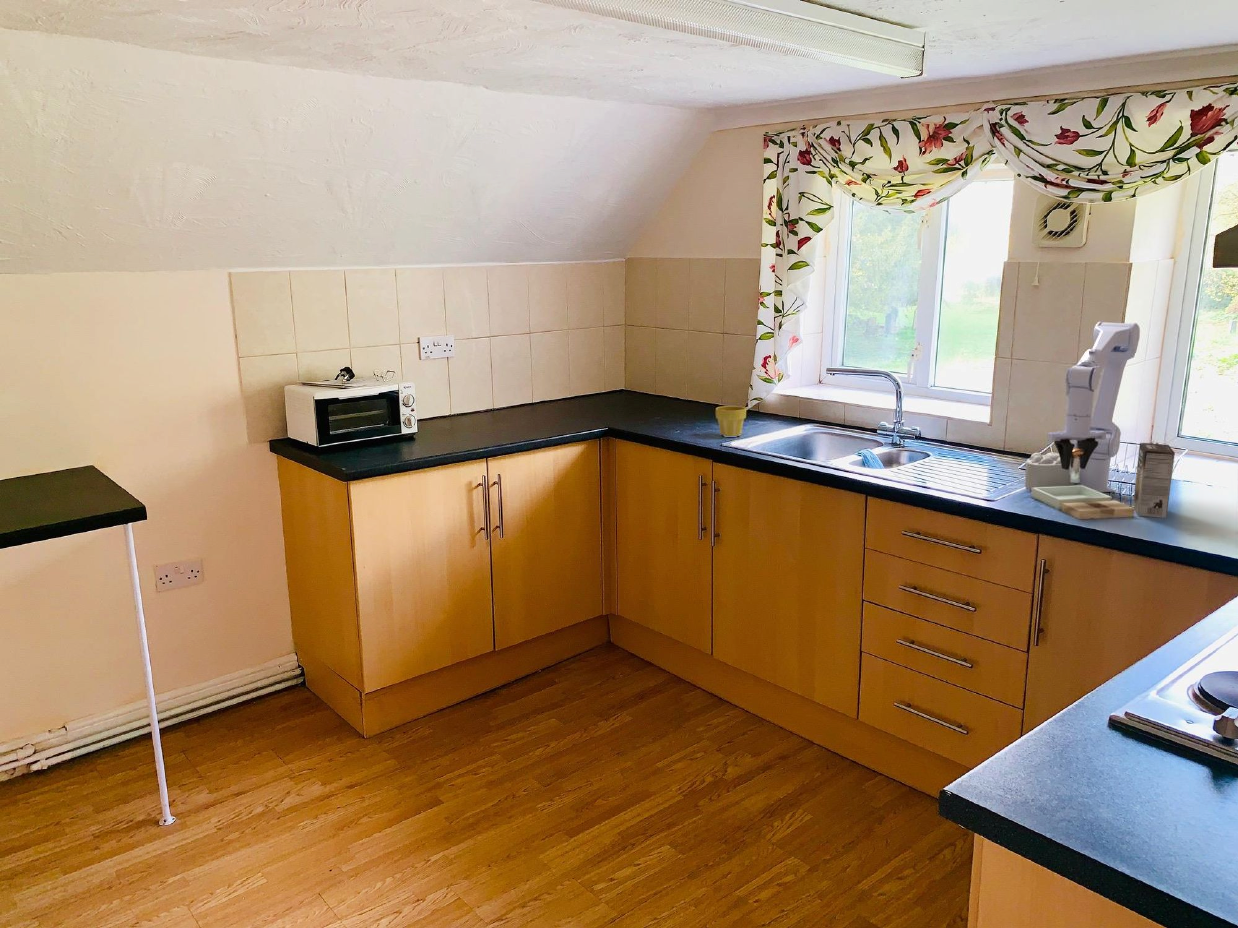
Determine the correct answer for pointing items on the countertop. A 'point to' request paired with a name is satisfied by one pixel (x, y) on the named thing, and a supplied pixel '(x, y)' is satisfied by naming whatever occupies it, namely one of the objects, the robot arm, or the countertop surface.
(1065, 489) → the tray
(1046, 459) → the lumpy-topped squat cylinder
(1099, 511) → the tan flat rectangular block
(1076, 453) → the pin
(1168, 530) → the countertop surface
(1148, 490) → the coffee box
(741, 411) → the plant pot
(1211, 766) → the countertop surface
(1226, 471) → the countertop surface
